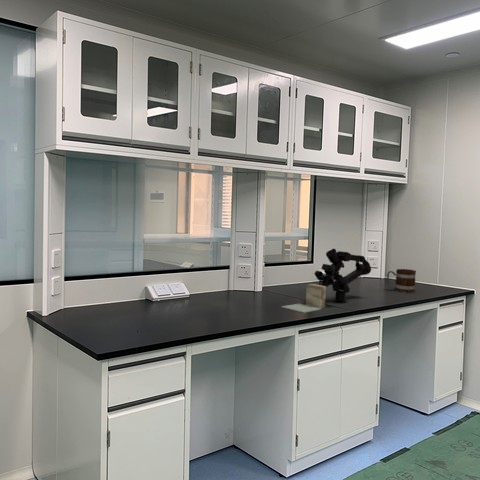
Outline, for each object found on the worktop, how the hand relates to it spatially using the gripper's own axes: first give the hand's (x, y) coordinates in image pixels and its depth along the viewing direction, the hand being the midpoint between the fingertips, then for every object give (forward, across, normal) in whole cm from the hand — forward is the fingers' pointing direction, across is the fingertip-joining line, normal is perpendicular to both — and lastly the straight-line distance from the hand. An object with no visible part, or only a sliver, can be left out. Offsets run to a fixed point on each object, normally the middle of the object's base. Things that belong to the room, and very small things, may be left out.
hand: (322, 288), depth 274 cm
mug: (-56, 0, +70) cm, 89 cm away
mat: (+20, 0, -5) cm, 20 cm away
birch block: (+11, 0, +3) cm, 11 cm away
